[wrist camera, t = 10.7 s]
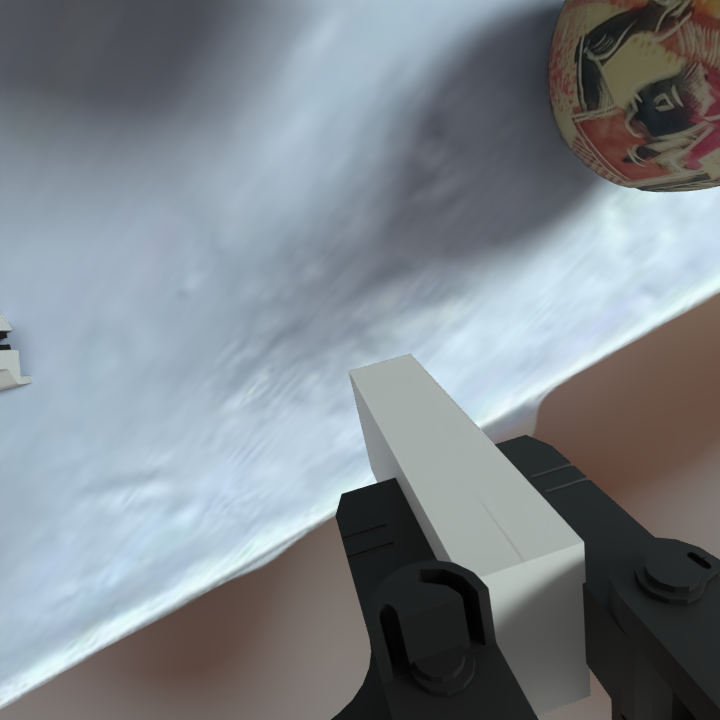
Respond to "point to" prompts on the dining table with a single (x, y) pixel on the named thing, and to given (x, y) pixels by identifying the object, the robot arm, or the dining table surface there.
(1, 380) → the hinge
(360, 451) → the dining table surface
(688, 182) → the ceramic jug
